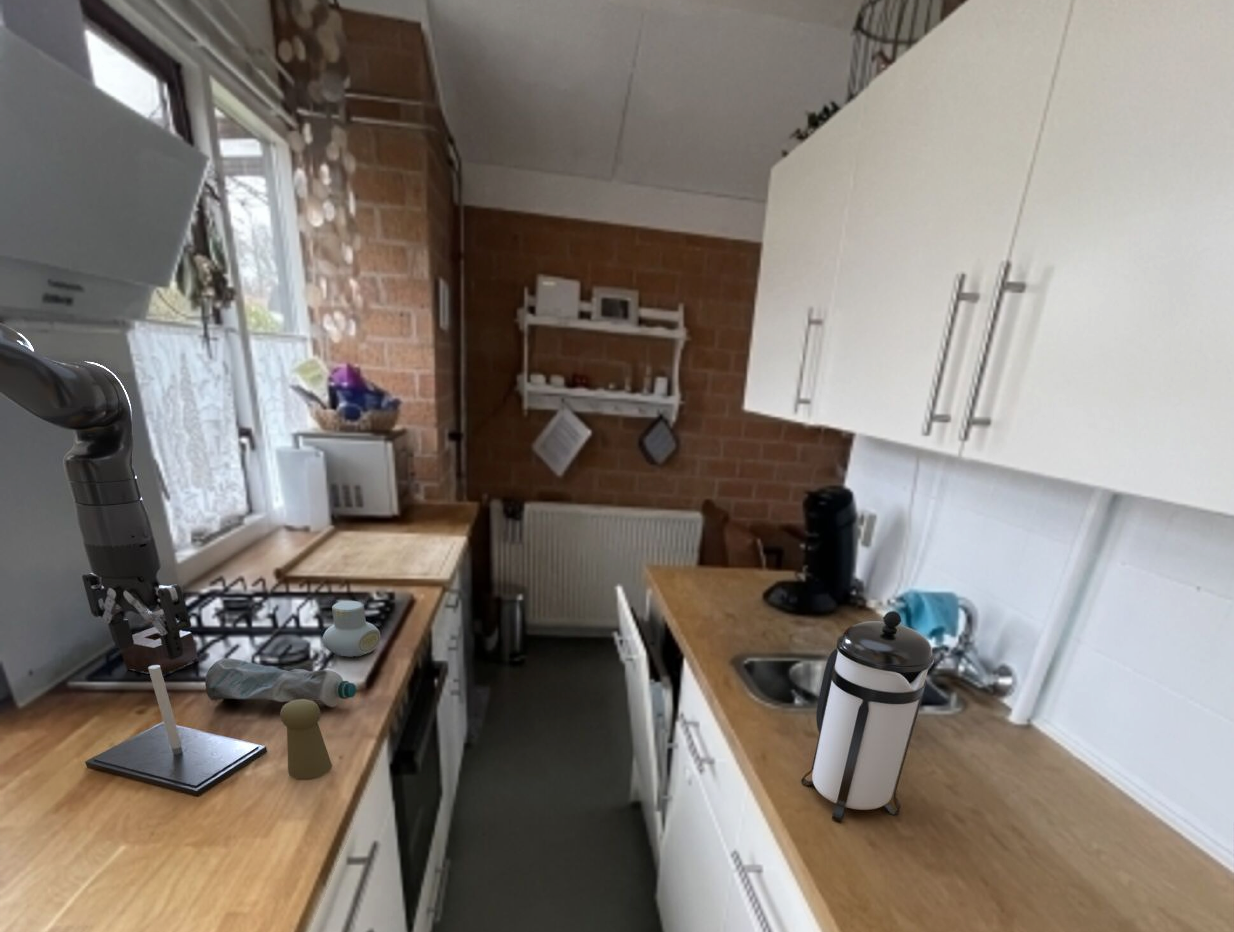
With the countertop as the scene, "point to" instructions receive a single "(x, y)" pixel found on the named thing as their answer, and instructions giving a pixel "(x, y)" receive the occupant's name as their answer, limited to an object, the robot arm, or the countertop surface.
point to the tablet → (177, 759)
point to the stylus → (165, 708)
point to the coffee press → (868, 713)
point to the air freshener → (350, 631)
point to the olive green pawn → (304, 740)
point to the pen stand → (157, 652)
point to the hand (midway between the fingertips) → (150, 652)
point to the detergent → (274, 683)
